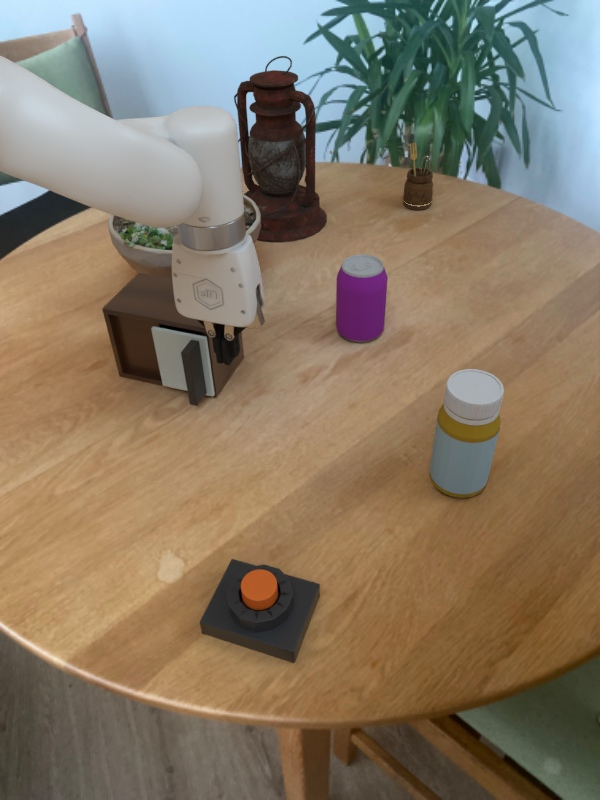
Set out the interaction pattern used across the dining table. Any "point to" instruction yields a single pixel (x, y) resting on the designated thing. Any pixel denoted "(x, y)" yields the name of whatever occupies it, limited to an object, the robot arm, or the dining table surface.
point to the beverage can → (361, 298)
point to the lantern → (279, 156)
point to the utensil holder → (418, 184)
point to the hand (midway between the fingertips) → (228, 357)
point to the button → (259, 589)
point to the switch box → (261, 613)
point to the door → (184, 362)
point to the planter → (161, 241)
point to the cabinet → (132, 334)
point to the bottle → (466, 433)
